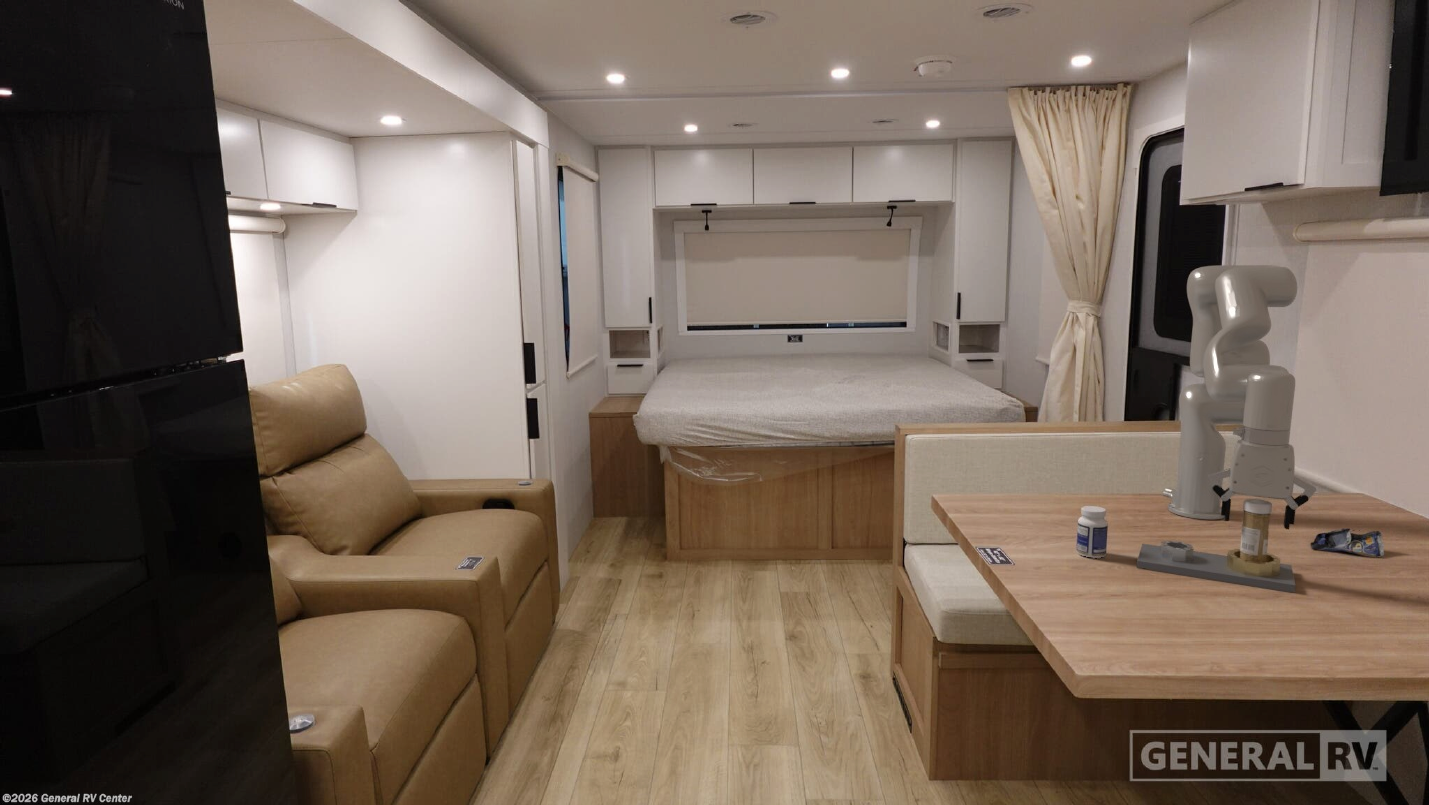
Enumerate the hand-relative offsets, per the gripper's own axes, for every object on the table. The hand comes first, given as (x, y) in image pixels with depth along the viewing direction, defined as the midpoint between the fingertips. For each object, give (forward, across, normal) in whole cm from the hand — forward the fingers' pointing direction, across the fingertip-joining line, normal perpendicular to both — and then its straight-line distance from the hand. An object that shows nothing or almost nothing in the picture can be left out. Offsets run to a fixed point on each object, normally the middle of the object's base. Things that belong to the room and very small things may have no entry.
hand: (1256, 523), depth 159 cm
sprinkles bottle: (+9, 0, 0) cm, 9 cm away
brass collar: (+9, 0, -1) cm, 9 cm away
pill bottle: (+11, -28, -3) cm, 30 cm away
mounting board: (+10, -6, -1) cm, 12 cm away
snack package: (+12, +17, +26) cm, 33 cm away
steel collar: (+9, -13, -1) cm, 16 cm away
